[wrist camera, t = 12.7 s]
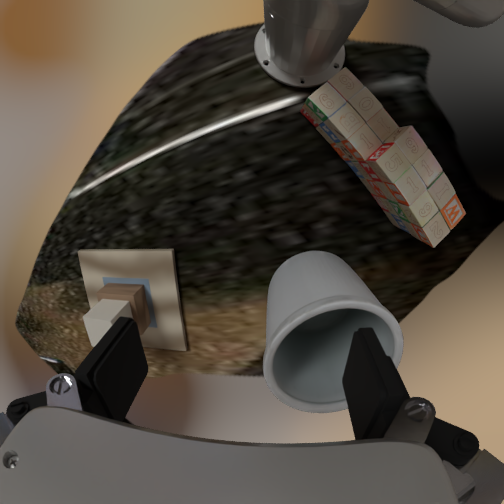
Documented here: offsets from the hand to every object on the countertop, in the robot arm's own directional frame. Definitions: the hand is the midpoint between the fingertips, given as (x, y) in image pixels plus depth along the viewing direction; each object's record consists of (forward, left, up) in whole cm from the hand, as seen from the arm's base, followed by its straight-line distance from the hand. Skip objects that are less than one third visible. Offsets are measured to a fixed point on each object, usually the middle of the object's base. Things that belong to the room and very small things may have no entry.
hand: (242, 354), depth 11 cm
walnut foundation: (+13, -22, -28) cm, 38 cm away
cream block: (+13, -22, -24) cm, 35 cm away
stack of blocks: (-9, +15, -30) cm, 34 cm away
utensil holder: (+11, +8, -30) cm, 33 cm away
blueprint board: (+13, -22, -29) cm, 39 cm away
